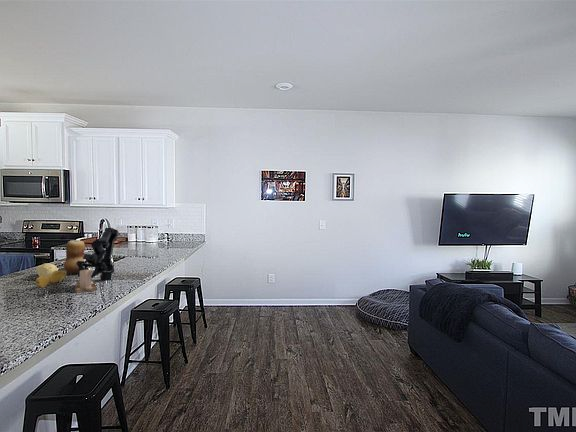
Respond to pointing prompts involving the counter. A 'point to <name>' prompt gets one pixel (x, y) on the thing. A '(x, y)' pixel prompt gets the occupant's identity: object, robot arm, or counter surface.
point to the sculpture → (46, 269)
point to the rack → (92, 289)
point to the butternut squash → (74, 255)
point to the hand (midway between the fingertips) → (84, 277)
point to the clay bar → (85, 279)
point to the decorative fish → (50, 278)
